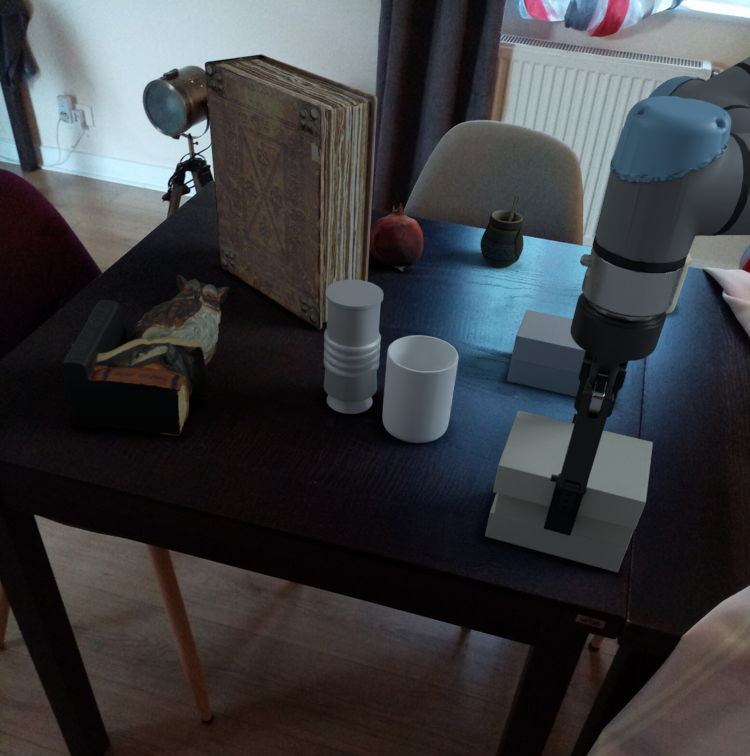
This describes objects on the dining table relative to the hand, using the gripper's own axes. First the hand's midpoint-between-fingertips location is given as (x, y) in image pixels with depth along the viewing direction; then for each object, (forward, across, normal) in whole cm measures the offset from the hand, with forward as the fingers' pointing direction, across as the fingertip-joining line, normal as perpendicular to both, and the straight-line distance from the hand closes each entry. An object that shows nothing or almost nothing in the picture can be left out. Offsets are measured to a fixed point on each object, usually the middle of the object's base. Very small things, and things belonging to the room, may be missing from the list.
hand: (565, 496), depth 81 cm
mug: (+5, -14, -20) cm, 25 cm away
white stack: (+5, 0, 0) cm, 5 cm away
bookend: (+5, -9, -53) cm, 54 cm away
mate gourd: (+5, -64, -20) cm, 67 cm away
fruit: (+5, -55, -36) cm, 66 cm away
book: (+5, -39, -48) cm, 62 cm away
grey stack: (+5, -31, -4) cm, 32 cm away
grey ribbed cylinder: (+5, -14, -29) cm, 32 cm away
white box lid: (-2, 0, 0) cm, 2 cm away
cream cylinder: (+5, -59, +7) cm, 60 cm away
